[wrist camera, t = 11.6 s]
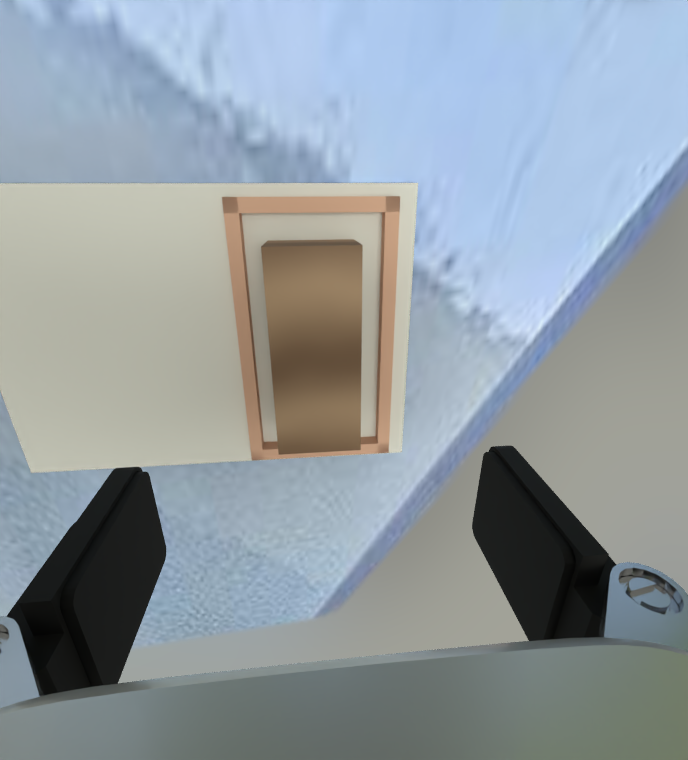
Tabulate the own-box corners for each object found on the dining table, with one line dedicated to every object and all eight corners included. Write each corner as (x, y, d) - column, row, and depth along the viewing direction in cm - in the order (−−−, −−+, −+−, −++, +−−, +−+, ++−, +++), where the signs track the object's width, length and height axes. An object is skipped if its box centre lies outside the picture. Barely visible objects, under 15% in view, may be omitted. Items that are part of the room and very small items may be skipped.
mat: (35, 468, 28) (22, 482, 27) (-70, 183, 21) (-96, 182, 20) (400, 448, 30) (404, 460, 29) (415, 183, 23) (422, 182, 22)
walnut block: (267, 240, 23) (260, 246, 20) (353, 239, 24) (362, 245, 20) (281, 422, 28) (278, 454, 24) (353, 418, 28) (360, 450, 25)
